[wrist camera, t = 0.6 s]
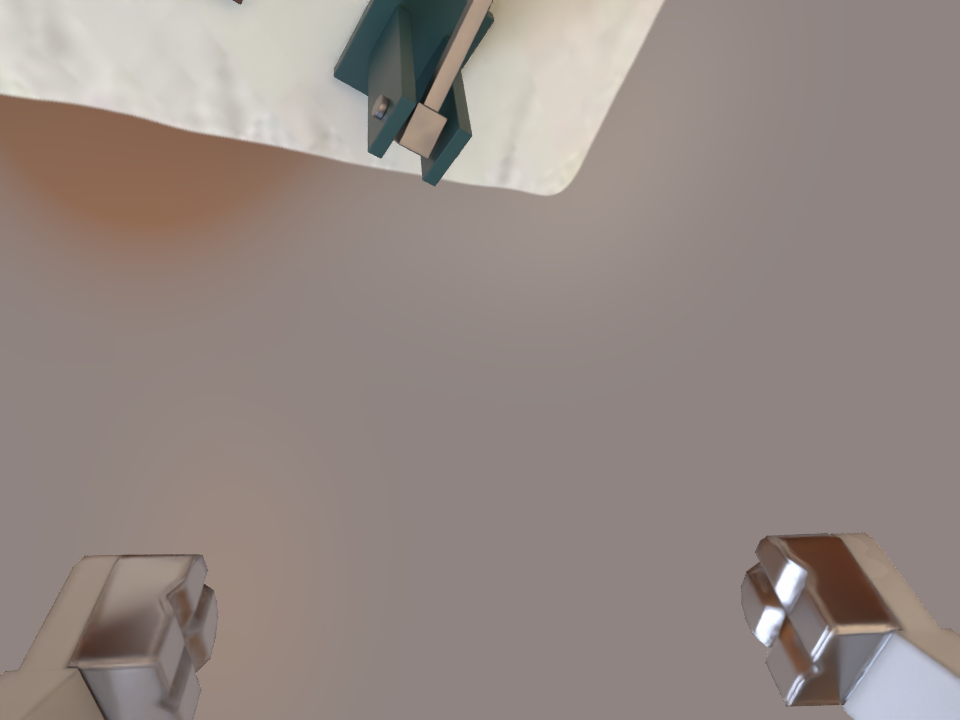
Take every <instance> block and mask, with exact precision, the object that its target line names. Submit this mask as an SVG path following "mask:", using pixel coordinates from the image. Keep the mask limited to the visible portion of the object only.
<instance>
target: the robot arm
mask: <svg viewBox="0 0 960 720" xmlns="http://www.w3.org/2000/svg"><path fill="white" fill-rule="evenodd" d="M755 553H756V555H757V557H758V559H759V561H760V562H759V563H757V564H756V565H755V566H754V567H752V568H751V569H749V570H748V571H747V572H746V574H745V577H744V580H743V583H742V585H741V601H742V603H741V604H742V608H743V611H744V615H745V619H746V621H747V623H748V626H749V628H750V630H751V632H752V634H753V635H754V636H755V637H756V638H758V639H759V640H760V641H761V642H763V643H764V644H765V645H766V646H767V647H769V649H768V654H767V658H766V664H767V667H768V669H769V671H770V673H771V675H772V677H773V679H774V681H775V683H776V686H777V688H778V690H779V692H780V694H781V696H782V698H783V701H784V703H785V705H786V706H817V705H819V706H820V705H844V706H843V709H844V710H845V711H846V712H847V713H848V714H849V715H850V716H851V717H852V718H853V719H854V720H960V635H959V634H958V633H956V632H955V631H953V630H952V629H940V628H939V626H938V625H937V623H936V622H935V621H934V619H933V618H932V617H931V615H930V614H929V613H928V611H927V610H926V608H925V607H924V606H923V604H922V603H921V602H920V600H919V599H918V598H917V596H916V595H915V594H914V592H913V591H912V590H911V588H910V587H909V585H908V584H907V583H906V581H905V580H904V579H903V577H902V576H901V575H900V573H899V572H898V571H897V569H896V568H895V566H894V565H893V564H892V562H891V561H890V560H889V558H888V557H887V556H886V555H885V553H884V552H883V550H882V549H881V548H880V547H879V545H878V543H877V542H876V541H875V540H874V539H873V538H872V537H870V536H869V535H868V534H866V533H839V534H837V533H836V534H827V533H820V534H819V533H817V534H795V535H773V536H766V537H765V538H763V539H762V540H761V541H760V542H759V544H758V547H757V549H756V551H755ZM207 572H208V569H207V566H206V563H205V560H204V557H203V555H197V554H196V555H100V556H99V555H95V556H84V557H83V558H82V559H81V560H80V561H79V562H78V563H77V564H76V565H75V566H74V567H73V568H72V570H71V572H70V574H69V576H68V578H67V580H66V582H65V583H64V585H63V587H62V589H61V591H60V593H59V595H58V596H57V598H56V600H55V602H54V604H53V606H52V608H51V610H50V612H49V613H48V615H47V617H46V619H45V621H44V623H43V625H42V626H41V629H40V630H39V632H38V634H37V636H36V638H35V640H34V641H33V644H32V645H31V647H30V649H29V651H28V653H27V655H26V657H25V658H24V660H23V662H22V664H21V666H20V668H19V670H16V671H5V672H4V673H3V674H2V675H0V720H193V718H194V715H195V711H196V708H197V704H198V701H199V697H200V694H201V687H200V684H199V681H198V678H197V675H196V672H197V671H198V670H199V669H200V668H201V667H202V666H203V665H204V664H205V663H206V662H207V661H208V660H209V659H210V658H211V654H212V650H213V646H214V642H215V638H216V629H217V620H218V610H217V600H216V597H215V593H214V590H213V589H211V588H210V587H208V586H207V585H205V584H204V581H205V578H206V575H207Z"/></svg>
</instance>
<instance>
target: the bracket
mask: <svg viewBox="0 0 960 720" xmlns="http://www.w3.org/2000/svg"><path fill="white" fill-rule="evenodd" d="M467 1H468V0H370V2H369V4H368V6H367V8H366V10H365V12H364V13H363V15H362V17H361V19H360V21H359V23H358V25H357V27H356V28H355V30H354V32H353V34H352V36H351V38H350V40H349V42H348V44H347V45H346V47H345V49H344V51H343V53H342V55H341V57H340V59H339V61H338V62H337V64H336V66H335V68H334V77H335V78H337V79H339V80H341V81H342V82H344V83H346V84H348V85H350V86H351V87H353V88H355V89H357V90H358V91H360V92H362V93H364V94H366V95H367V96H368V152H369V153H371V154H373V155H375V156H377V157H379V158H382V157H383V155H384V154H385V152H386V151H387V149H388V148H389V146H390V144H391V143H392V141H393V140H394V138H395V137H396V135H397V134H398V132H399V131H400V129H401V127H402V126H403V124H404V123H405V121H406V120H407V118H408V117H409V115H410V114H411V112H412V110H413V109H414V107H415V106H416V104H417V102H416V101H418V102H420V100H421V98H422V96H423V94H424V92H425V89H426V87H427V85H428V83H429V81H430V79H431V77H432V75H433V73H434V71H435V68H436V66H437V64H438V62H439V60H440V58H441V56H442V54H443V52H444V50H445V48H446V45H447V43H448V41H449V39H450V37H451V35H452V33H453V31H454V29H455V27H456V25H457V22H458V20H459V18H460V16H461V14H462V12H463V10H464V8H465V6H466V4H467ZM493 22H494V18H493V14H492V13H491V12H489V11H487V13H486V15H485V18H484V20H483V22H482V24H481V26H480V28H479V30H478V32H477V34H476V36H475V38H474V40H473V42H472V44H471V46H470V48H469V50H468V52H467V54H466V56H465V59H464V61H463V63H462V65H461V67H460V69H459V71H458V73H457V75H456V77H455V79H454V81H453V83H452V85H451V87H450V89H449V91H448V93H447V95H446V97H445V99H444V102H443V104H442V106H441V108H440V110H439V112H438V113H439V114H441V115H443V116H444V117H446V118H447V119H448V120H447V122H446V124H445V126H444V128H443V131H442V133H441V135H440V137H439V139H438V141H437V143H436V145H435V147H434V149H433V151H432V153H431V155H430V157H429V159H425V158H424V157H422V156H421V166H422V179H423V181H425V182H427V183H429V184H431V185H433V186H435V185H436V184H437V183H438V182H439V180H440V179H441V178H442V176H443V175H444V174H445V172H446V171H447V169H448V168H449V167H450V165H451V164H452V163H453V161H454V160H455V159H456V158H457V157H458V155H459V154H460V152H461V150H462V149H463V148H464V146H465V145H466V144H467V142H468V141H469V140H470V138H471V137H472V131H471V125H470V120H469V114H468V108H467V102H466V97H465V91H464V85H463V79H462V74H461V70H462V68H463V67H464V65H465V64H466V62H467V61H468V59H469V58H470V56H471V55H472V53H473V52H474V50H475V49H476V47H477V46H478V44H479V43H480V41H481V40H482V38H483V37H484V35H485V34H486V32H487V31H488V29H489V28H490V26H491V25H492V23H493Z"/></svg>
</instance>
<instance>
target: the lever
mask: <svg viewBox="0 0 960 720" xmlns="http://www.w3.org/2000/svg"><path fill="white" fill-rule="evenodd" d="M492 1H493V0H468V1H467V4H466V6H465V8H464V10H463V12H462V14H461V16H460V18H459V20H458V22H457V25H456V27H455V29H454V31H453V33H452V35H451V37H450V39H449V41H448V43H447V45H446V48H445V50H444V52H443V54H442V56H441V58H440V60H439V62H438V64H437V66H436V68H435V71H434V73H433V75H432V77H431V79H430V81H429V83H428V85H427V87H426V89H425V92H424V94H423V96H422V98H421V100H420V102H418V101H416V102H417V104H416V106H415V107H414V109H413V110H412V112H411V114H410V115H409V117H408V118H407V120H406V121H405V123H404V124H403V126H402V127H401V129H400V131H399V132H398V134H397V135H396V137H395V138H394V141H395V142H397V143H398V144H399V145H401V146H403V147H405V148H407V149H409V150H410V151H412V152H414V153H416V154H418V155H420V156H422V157H424V158H425V159H429V157H430V155H431V153H432V151H433V149H434V147H435V145H436V143H437V141H438V139H439V137H440V135H441V133H442V131H443V128H444V126H445V124H446V122H447V120H448V119H447V118H446V117H444V116H443V115H441V114H439V113H438V112H439V110H440V108H441V106H442V104H443V102H444V99H445V97H446V95H447V93H448V91H449V89H450V87H451V85H452V83H453V81H454V79H455V77H456V75H457V73H458V71H459V69H460V67H461V65H462V63H463V61H464V59H465V56H466V54H467V52H468V50H469V48H470V46H471V44H472V42H473V40H474V38H475V36H476V34H477V32H478V30H479V28H480V26H481V24H482V22H483V20H484V18H485V15H486V13H487V11H488V9H489V7H490V5H491V3H492Z"/></svg>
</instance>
